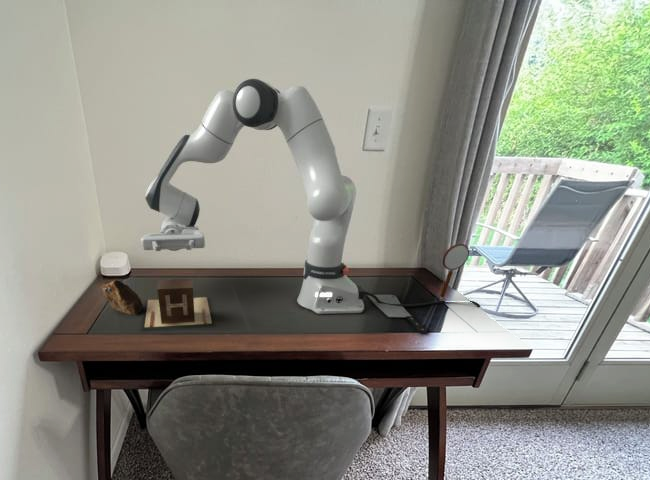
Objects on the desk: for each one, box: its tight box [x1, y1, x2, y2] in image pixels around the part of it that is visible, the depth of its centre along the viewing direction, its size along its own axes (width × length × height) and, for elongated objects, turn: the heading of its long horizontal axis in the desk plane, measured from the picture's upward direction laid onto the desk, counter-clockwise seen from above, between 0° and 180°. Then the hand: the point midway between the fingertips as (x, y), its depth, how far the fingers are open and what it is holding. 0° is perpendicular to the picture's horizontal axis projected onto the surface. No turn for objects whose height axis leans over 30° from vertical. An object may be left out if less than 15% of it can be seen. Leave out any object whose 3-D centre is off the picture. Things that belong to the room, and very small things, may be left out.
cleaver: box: [366, 293, 428, 335], centre depth 116 cm, size 29×1×10 cm
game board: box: [144, 296, 213, 328], centre depth 114 cm, size 20×20×1 cm
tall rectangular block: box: [156, 278, 195, 324], centre depth 106 cm, size 10×7×11 cm
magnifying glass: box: [439, 243, 470, 301], centre depth 120 cm, size 9×2×20 cm, turn 97°
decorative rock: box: [101, 279, 143, 316], centre depth 111 cm, size 12×6×11 cm, turn 66°
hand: (173, 247), depth 109 cm, fingers open, 8 cm apart
